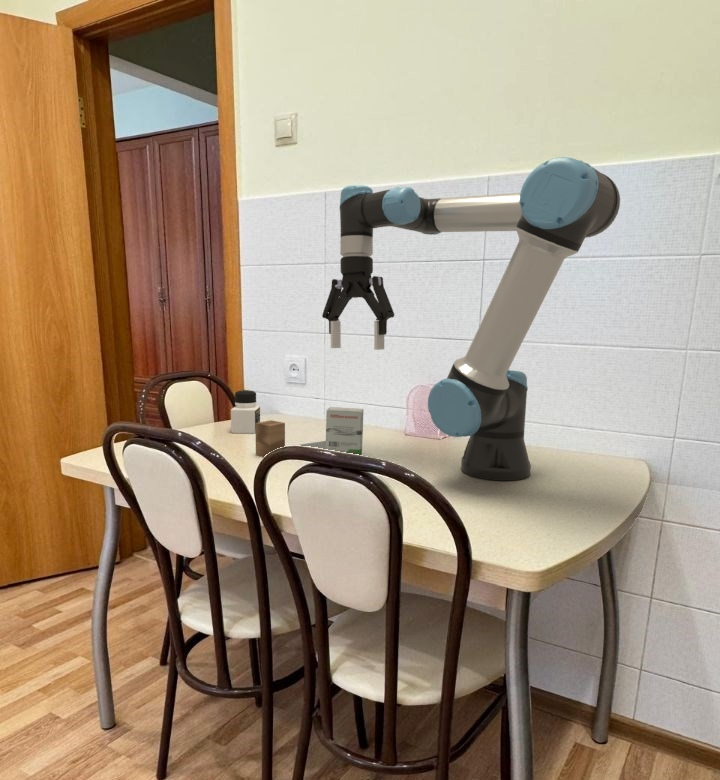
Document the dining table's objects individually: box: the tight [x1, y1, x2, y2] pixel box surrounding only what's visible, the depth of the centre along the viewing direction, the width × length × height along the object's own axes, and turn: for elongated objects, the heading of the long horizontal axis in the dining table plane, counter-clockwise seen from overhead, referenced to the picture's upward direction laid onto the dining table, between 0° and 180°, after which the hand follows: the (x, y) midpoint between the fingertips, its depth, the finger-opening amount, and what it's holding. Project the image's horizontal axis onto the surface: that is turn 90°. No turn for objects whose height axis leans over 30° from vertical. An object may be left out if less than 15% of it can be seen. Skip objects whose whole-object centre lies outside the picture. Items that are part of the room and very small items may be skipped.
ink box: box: [325, 406, 364, 456], centre depth 135 cm, size 9×5×12 cm, turn 84°
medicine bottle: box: [230, 389, 261, 435], centre depth 164 cm, size 7×7×12 cm
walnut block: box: [255, 419, 286, 458], centre depth 137 cm, size 5×5×8 cm
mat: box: [300, 440, 326, 449], centre depth 143 cm, size 12×18×1 cm
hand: (356, 348), depth 132 cm, fingers open, 13 cm apart
